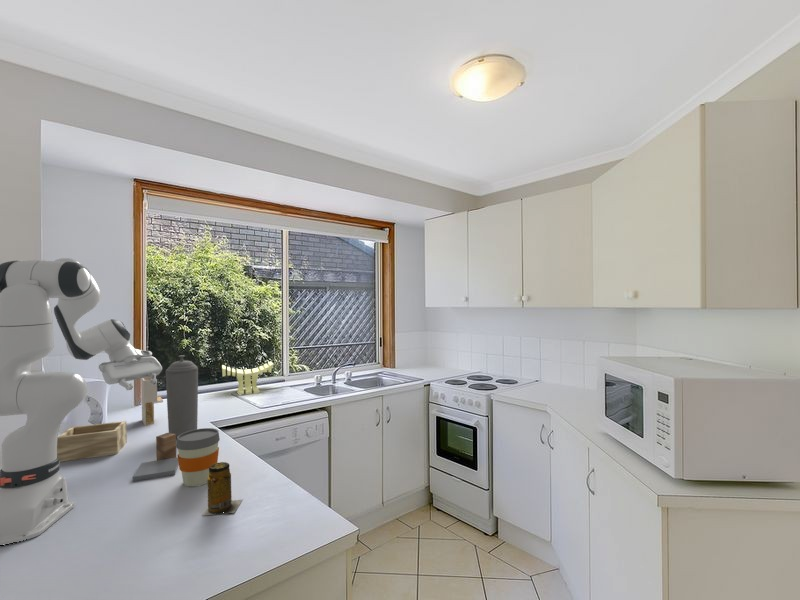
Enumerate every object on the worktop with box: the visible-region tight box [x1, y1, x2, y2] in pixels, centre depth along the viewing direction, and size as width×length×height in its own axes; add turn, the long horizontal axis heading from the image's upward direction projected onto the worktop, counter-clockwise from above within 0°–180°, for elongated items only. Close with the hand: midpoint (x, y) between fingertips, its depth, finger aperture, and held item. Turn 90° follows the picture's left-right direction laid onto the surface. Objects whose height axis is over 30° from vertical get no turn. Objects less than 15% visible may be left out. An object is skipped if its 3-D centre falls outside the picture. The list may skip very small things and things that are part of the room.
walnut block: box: [155, 432, 177, 461], centre depth 143 cm, size 4×4×9 cm
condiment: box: [202, 461, 243, 516], centre depth 109 cm, size 7×8×12 cm
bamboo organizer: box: [57, 420, 128, 463], centre depth 152 cm, size 13×18×9 cm
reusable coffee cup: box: [176, 427, 221, 487], centre depth 126 cm, size 13×13×15 cm
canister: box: [165, 354, 199, 439], centre depth 170 cm, size 13×13×35 cm
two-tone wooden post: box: [140, 377, 164, 426], centre depth 191 cm, size 8×12×26 cm
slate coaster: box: [132, 456, 179, 482], centre depth 134 cm, size 12×12×2 cm
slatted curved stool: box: [221, 361, 274, 395], centre depth 251 cm, size 30×16×18 cm, turn 114°
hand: (143, 386), depth 148 cm, fingers open, 8 cm apart
